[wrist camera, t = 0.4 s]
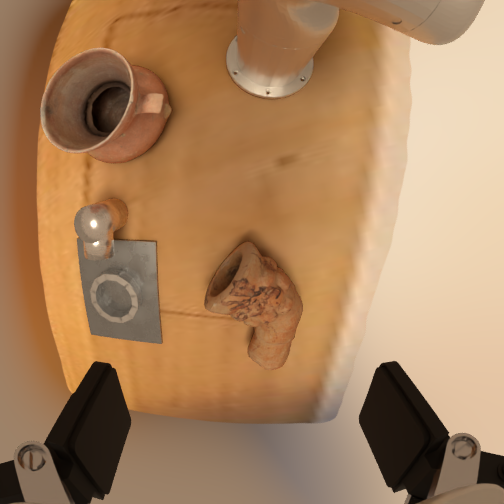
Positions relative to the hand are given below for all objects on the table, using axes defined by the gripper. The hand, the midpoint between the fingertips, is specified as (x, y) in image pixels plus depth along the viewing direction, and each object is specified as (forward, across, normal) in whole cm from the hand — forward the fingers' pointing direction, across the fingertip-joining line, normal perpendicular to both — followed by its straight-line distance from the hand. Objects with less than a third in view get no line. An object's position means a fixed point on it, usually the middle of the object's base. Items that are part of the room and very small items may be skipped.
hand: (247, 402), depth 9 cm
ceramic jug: (+34, +18, -16) cm, 42 cm away
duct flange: (+34, +20, +12) cm, 41 cm away
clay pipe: (+35, -3, +12) cm, 37 cm away
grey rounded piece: (+34, +19, 0) cm, 39 cm away
